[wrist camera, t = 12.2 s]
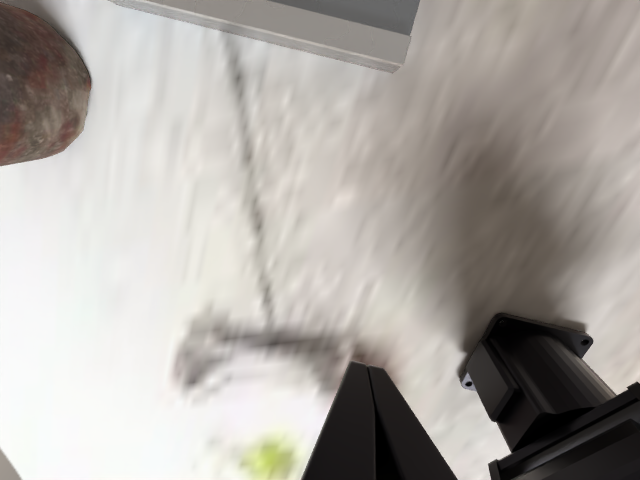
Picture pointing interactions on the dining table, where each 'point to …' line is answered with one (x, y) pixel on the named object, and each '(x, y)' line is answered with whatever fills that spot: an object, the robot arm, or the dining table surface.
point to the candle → (38, 88)
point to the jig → (306, 24)
